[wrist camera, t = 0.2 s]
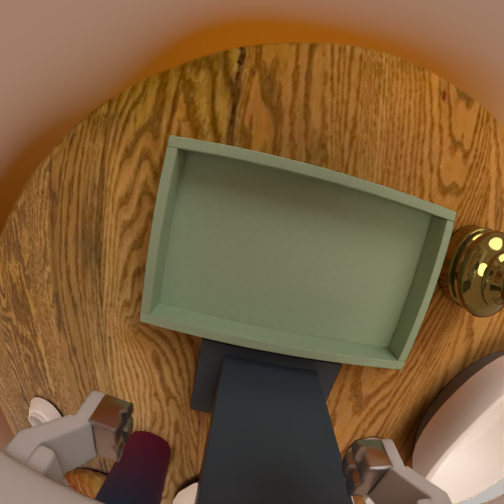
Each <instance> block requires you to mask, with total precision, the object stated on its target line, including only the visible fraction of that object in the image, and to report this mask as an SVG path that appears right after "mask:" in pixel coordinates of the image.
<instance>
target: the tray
mask: <svg viewBox="0 0 504 504" xmlns="http://www.w3.org/2000/svg"><path fill="white" fill-rule="evenodd" d="M167 146H168V147H167V149H166V153H165V158H164V162H163V167H162V172H161V177H160V182H159V187H158V192H157V197H156V203H155V209H154V214H153V220H152V226H151V233H150V239H149V246H148V253H147V260H146V268H145V276H144V284H143V293H142V303H141V313H140V321H141V322H144V323H148V324H151V325H155V326H159V327H162V328H166V329H170V330H174V331H178V332H182V333H186V334H190V335H194V336H198V337H202V338H206V339H211V340H215V341H220V342H224V343H229V344H233V345H238V346H243V347H248V348H253V349H258V350H263V351H269V352H274V353H280V354H285V355H291V356H297V357H303V358H309V359H316V360H323V361H330V362H337V363H345V364H353V365H361V366H370V367H379V368H389V369H402V368H403V366H404V363H405V361H406V359H407V357H408V355H409V352H410V350H411V348H412V346H413V343H414V341H415V339H416V336H417V334H418V331H419V329H420V327H421V324H422V322H423V319H424V317H425V314H426V311H427V309H428V306H429V303H430V301H431V298H432V295H433V292H434V289H435V286H436V284H437V281H438V277H439V274H440V271H441V268H442V265H443V262H444V258H445V255H446V252H447V248H448V244H449V241H450V237H451V233H452V229H453V226H454V221H455V217H456V212H454V211H452V210H449V209H447V208H444V207H442V206H439V205H436V204H434V203H431V202H428V201H426V200H423V199H420V198H417V197H415V196H412V195H409V194H406V193H403V192H400V191H397V190H394V189H391V188H388V187H385V186H382V185H379V184H376V183H373V182H370V181H367V180H363V179H360V178H357V177H354V176H350V175H347V174H343V173H340V172H336V171H333V170H329V169H326V168H322V167H318V166H315V165H311V164H307V163H303V162H299V161H295V160H291V159H287V158H283V157H279V156H275V155H271V154H266V153H262V152H257V151H253V150H248V149H243V148H239V147H234V146H229V145H224V144H219V143H213V142H208V141H202V140H197V139H191V138H185V137H178V136H172V135H170V136H169V140H168V144H167Z"/></svg>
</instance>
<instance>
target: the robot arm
mask: <svg viewBox="0 0 504 504" xmlns="http://www.w3.org/2000/svg"><path fill="white" fill-rule="evenodd" d="M132 412H133V404H132V403H129V402H127V401H124V400H121V399H118V398H115V397H113V396H110V395H107V394H104V393H102V392H99V391H97V390H93V391H91V392H90V394H89V395H88V396H87V398H86V399H85V401H84V402H83V403H82V405H81V406H80V408H79V409H78V410H77V412H76V413H75V415H74V416H73V415H71V414H70V415H67V416H64V417H61V418H58V419H55V420H52V421H49V422H46V423H43V424H39V425H36V426H33V427H30V428H26V429H23V430H20V431H19V432H18V433H17V434H16V435H15V437H14V438H13V439H12V440H11V441H10V443H9V444H8V445H7V447H6V448H5V449H4V450H3V451H1V450H0V504H105V503H102V502H100V501H97V500H95V499H92V498H90V497H87V496H85V495H83V494H80V493H78V492H76V491H73V490H71V489H69V488H68V487H67V485H66V482H65V480H64V477H63V475H64V474H66V473H68V472H70V471H71V470H73V469H75V468H77V467H79V466H80V465H82V464H84V463H86V462H88V461H89V460H91V459H93V458H95V457H96V456H97V455H98V456H101V457H103V458H106V459H109V460H112V461H115V462H118V463H119V461H120V459H121V457H122V454H123V452H124V444H125V443H127V442H128V441H129V439H130V437H131V433H132V429H133V418H132V417H131V414H132ZM351 448H352V450H351V451H349V452H348V453H346V455H345V457H344V458H343V461H342V473H343V475H344V476H345V477H346V478H347V481H346V483H345V485H346V489H347V493H348V496H361V495H368V497H369V498H370V499H371V500H372V501H373V502H374V503H375V504H452V502H451V500H450V498H449V496H448V494H447V493H446V492H445V491H443V490H442V489H440V488H439V487H437V486H436V485H434V484H433V483H431V482H430V481H428V480H427V479H425V478H424V477H422V476H421V475H420V474H418V473H417V472H415V471H414V470H412V469H411V468H409V467H408V466H406V467H405V466H404V464H403V462H402V459H401V457H400V455H399V453H398V451H397V449H396V447H395V444H394V442H393V441H392V440H391V439H379V440H378V439H372V440H355V441H354V442H353V444H352V445H351ZM482 504H504V494H503V495H501V496H499V497H497V498H494V499H492V500H490V501H488V502H485V503H482Z"/></svg>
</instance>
